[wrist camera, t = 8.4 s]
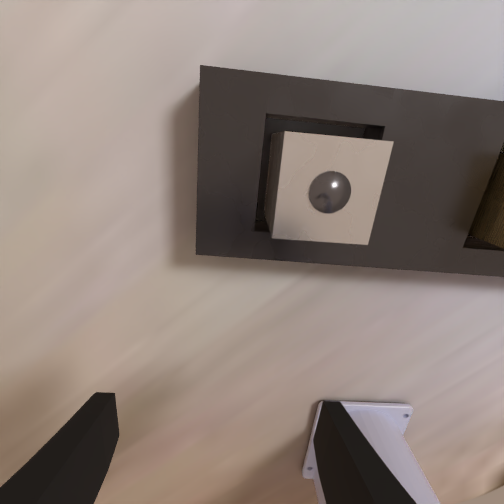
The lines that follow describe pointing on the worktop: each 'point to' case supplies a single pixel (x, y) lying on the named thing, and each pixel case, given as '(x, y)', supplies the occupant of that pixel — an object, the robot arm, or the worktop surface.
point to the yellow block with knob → (491, 209)
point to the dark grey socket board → (394, 186)
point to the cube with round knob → (324, 186)
